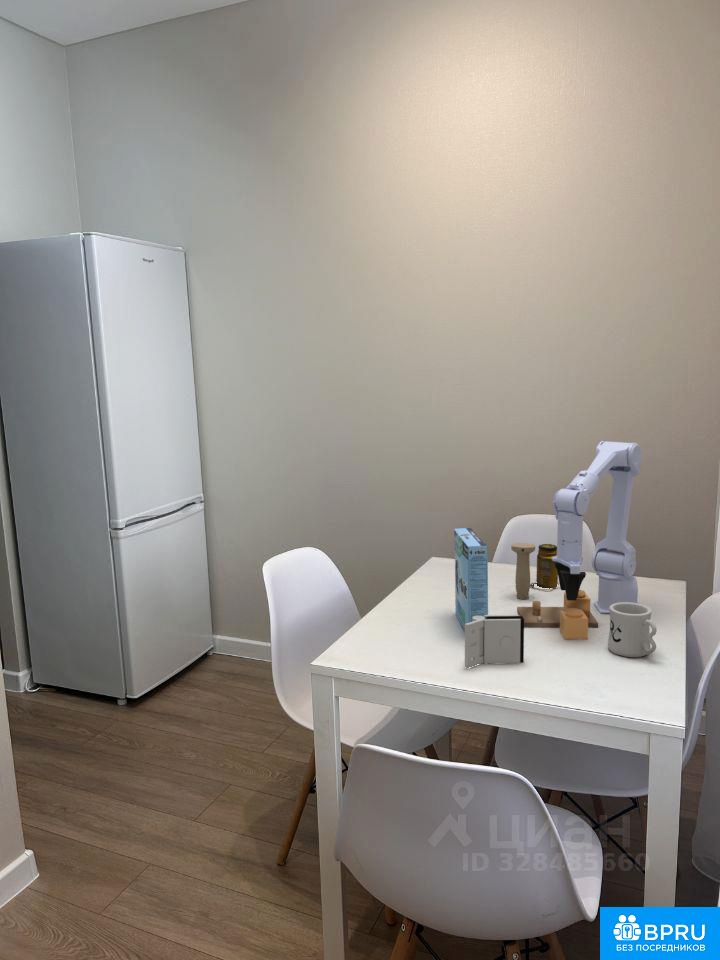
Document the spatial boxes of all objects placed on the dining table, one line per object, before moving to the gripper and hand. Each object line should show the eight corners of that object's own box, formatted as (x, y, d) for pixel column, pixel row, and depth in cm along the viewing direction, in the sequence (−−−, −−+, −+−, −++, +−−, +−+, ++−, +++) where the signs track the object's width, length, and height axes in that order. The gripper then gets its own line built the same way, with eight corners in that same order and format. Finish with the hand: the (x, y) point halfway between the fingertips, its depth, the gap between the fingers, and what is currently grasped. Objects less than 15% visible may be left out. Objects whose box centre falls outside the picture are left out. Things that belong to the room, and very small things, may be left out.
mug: (598, 647, 170) (600, 605, 169) (629, 640, 174) (631, 599, 172) (638, 667, 159) (640, 622, 158) (670, 659, 163) (672, 615, 161)
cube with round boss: (582, 630, 181) (583, 607, 180) (587, 639, 175) (588, 614, 174) (559, 630, 181) (560, 607, 180) (564, 639, 176) (564, 614, 175)
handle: (534, 601, 203) (535, 547, 201) (510, 600, 205) (510, 546, 202) (534, 596, 208) (535, 543, 205) (511, 594, 209) (511, 542, 207)
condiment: (563, 585, 217) (564, 545, 215) (548, 592, 211) (548, 551, 209) (542, 580, 222) (542, 541, 220) (525, 587, 216) (526, 546, 214)
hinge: (465, 669, 160) (465, 624, 158) (457, 660, 165) (457, 616, 163) (526, 663, 162) (526, 619, 161) (516, 654, 168) (517, 611, 166)
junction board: (586, 611, 194) (587, 584, 193) (598, 627, 183) (599, 599, 181) (517, 611, 196) (517, 584, 195) (523, 627, 184) (524, 599, 183)
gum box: (488, 640, 176) (489, 545, 173) (467, 640, 176) (467, 546, 172) (473, 612, 195) (473, 527, 192) (453, 613, 195) (453, 528, 192)
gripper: (547, 532, 183) (546, 585, 186) (558, 547, 169) (556, 604, 171) (576, 532, 183) (575, 585, 185) (589, 547, 169) (588, 604, 171)
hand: (568, 594), depth 178 cm, fingers open, 7 cm apart
